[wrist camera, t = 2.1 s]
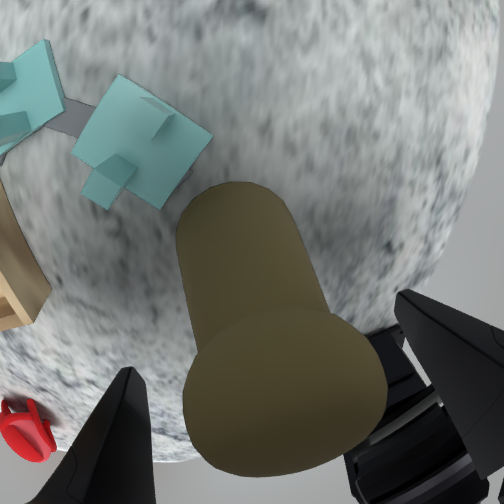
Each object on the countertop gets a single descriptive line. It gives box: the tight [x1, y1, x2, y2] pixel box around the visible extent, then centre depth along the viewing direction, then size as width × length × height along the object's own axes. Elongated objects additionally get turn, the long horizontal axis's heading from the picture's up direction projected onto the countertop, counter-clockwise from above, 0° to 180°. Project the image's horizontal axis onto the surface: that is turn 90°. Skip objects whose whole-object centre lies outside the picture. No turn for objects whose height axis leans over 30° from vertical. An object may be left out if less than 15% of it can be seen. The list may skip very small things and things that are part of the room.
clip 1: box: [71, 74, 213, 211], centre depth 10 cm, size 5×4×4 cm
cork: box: [176, 182, 388, 477], centre depth 10 cm, size 6×6×11 cm
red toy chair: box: [0, 399, 57, 463], centre depth 17 cm, size 8×6×6 cm
